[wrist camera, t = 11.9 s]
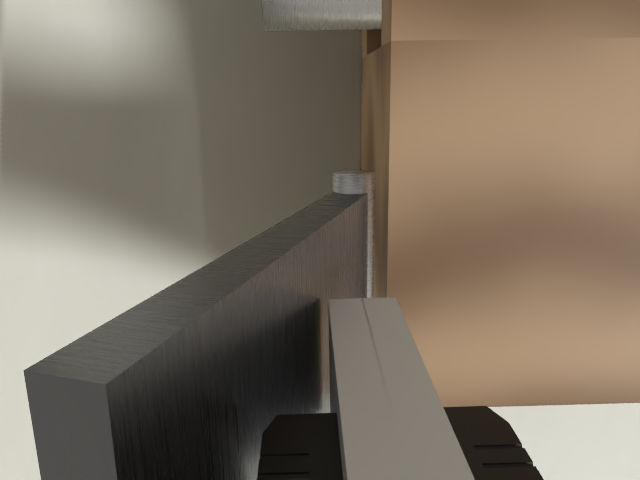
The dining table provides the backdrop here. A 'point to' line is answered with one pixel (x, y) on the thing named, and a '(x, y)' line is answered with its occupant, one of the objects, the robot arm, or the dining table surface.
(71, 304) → the dining table surface
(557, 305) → the block
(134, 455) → the silver flat rectangular plate
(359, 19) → the pin
